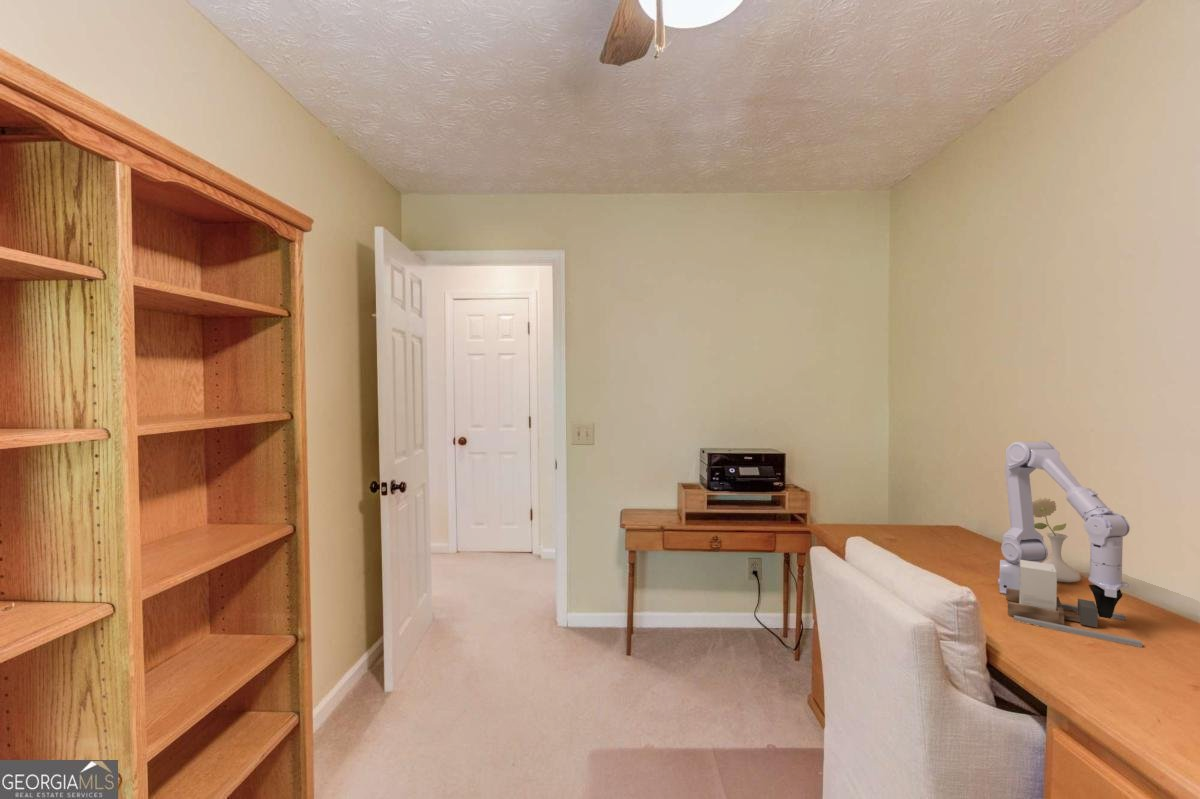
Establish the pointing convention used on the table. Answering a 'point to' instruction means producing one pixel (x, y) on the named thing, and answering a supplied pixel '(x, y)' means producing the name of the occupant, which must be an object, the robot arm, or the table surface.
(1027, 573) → the supplement box
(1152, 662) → the table surface
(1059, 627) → the guide rails
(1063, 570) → the flower in vase
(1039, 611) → the bench vise
